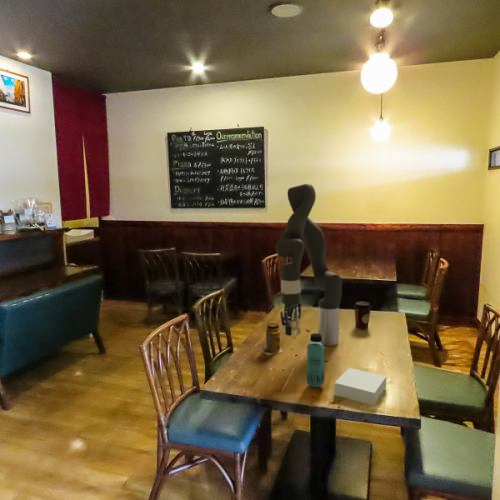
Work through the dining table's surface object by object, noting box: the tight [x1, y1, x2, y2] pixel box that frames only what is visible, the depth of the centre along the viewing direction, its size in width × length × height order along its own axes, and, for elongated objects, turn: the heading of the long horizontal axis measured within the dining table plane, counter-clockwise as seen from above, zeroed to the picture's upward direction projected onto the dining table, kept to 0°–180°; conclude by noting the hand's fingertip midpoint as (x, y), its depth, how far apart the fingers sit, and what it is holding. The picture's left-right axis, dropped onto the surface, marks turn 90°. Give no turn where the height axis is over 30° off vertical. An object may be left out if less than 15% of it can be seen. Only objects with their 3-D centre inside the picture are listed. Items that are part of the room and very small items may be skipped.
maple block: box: [282, 317, 301, 338], centre depth 164 cm, size 5×5×6 cm
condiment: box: [259, 322, 284, 356], centre depth 187 cm, size 7×8×12 cm
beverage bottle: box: [306, 332, 326, 388], centre depth 152 cm, size 6×7×20 cm
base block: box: [334, 367, 387, 406], centre depth 149 cm, size 14×14×5 cm
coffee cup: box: [353, 301, 372, 331], centre depth 214 cm, size 9×8×13 cm
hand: (291, 332), depth 164 cm, fingers closed on maple block, 5 cm apart
